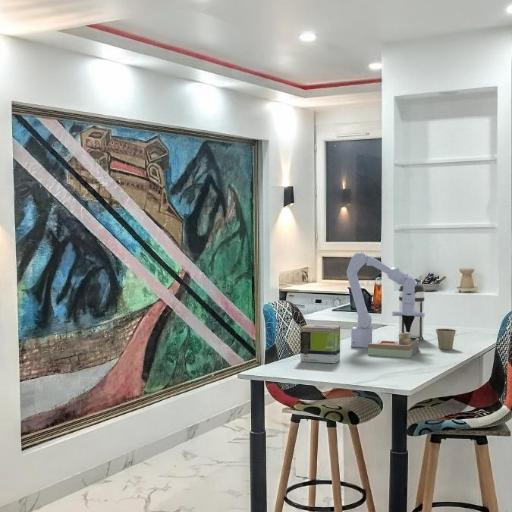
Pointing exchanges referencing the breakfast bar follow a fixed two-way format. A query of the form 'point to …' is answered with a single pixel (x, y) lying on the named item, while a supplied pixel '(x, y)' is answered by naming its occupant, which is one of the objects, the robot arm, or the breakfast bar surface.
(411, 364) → the breakfast bar surface
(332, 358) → the tea box
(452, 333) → the flower pot
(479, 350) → the breakfast bar surface
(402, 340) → the maple block
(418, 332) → the coffee press
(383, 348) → the box
